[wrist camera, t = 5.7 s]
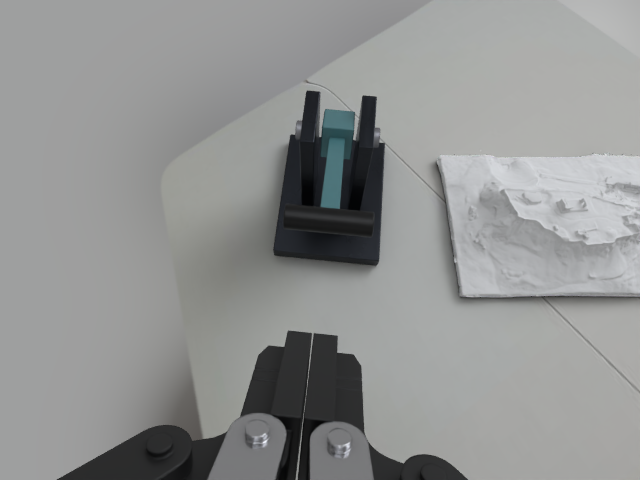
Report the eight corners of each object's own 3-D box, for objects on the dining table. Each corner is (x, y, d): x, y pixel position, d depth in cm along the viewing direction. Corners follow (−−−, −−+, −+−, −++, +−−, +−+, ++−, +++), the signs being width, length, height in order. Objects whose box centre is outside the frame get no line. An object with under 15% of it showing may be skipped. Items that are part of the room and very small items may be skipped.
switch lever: (370, 249, 27) (376, 216, 25) (282, 240, 27) (283, 207, 25) (369, 142, 36) (374, 113, 34) (304, 136, 36) (306, 106, 34)
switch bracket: (377, 265, 40) (402, 201, 30) (274, 255, 41) (261, 187, 30) (383, 150, 45) (406, 58, 34) (290, 141, 45) (285, 47, 35)
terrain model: (715, 297, 41) (770, 279, 36) (467, 330, 38) (493, 315, 34) (640, 140, 47) (678, 108, 43) (422, 159, 45) (438, 127, 40)
